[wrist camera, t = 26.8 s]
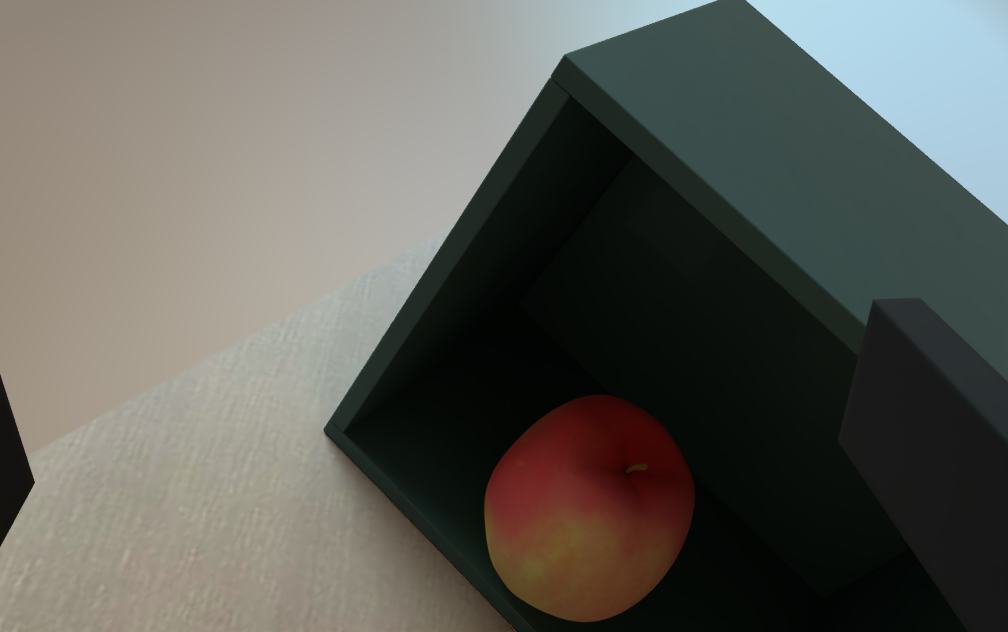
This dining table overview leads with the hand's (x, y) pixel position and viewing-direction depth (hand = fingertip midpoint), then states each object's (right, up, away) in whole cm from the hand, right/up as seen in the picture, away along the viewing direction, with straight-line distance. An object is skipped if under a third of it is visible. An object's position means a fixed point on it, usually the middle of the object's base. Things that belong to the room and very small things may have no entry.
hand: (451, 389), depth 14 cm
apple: (+2, -11, +32) cm, 34 cm away
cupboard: (+6, -11, +37) cm, 39 cm away
